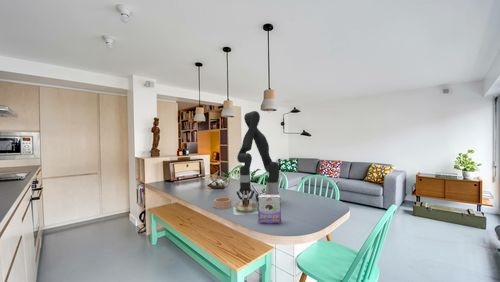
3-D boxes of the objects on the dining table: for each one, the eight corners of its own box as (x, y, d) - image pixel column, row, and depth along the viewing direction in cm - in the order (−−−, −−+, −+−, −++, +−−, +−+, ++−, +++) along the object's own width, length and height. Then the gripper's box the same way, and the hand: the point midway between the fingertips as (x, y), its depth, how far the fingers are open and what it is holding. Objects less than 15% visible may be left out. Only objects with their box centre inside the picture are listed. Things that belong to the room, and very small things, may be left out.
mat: (255, 206, 164) (255, 205, 164) (258, 214, 147) (258, 213, 147) (232, 207, 162) (232, 206, 162) (233, 215, 145) (233, 214, 145)
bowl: (230, 203, 170) (230, 197, 170) (231, 209, 158) (231, 201, 158) (214, 204, 169) (214, 197, 169) (214, 210, 156) (213, 202, 156)
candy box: (280, 220, 135) (280, 194, 135) (281, 224, 130) (280, 196, 129) (258, 219, 137) (258, 194, 136) (258, 223, 131) (257, 196, 131)
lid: (254, 202, 162) (254, 194, 162) (258, 210, 148) (257, 202, 147) (234, 203, 160) (234, 196, 160) (236, 211, 146) (236, 203, 145)
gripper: (253, 179, 159) (254, 202, 159) (235, 180, 157) (235, 203, 157) (255, 181, 151) (256, 205, 151) (235, 182, 149) (236, 207, 150)
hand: (245, 204), depth 154 cm, fingers closed on lid
